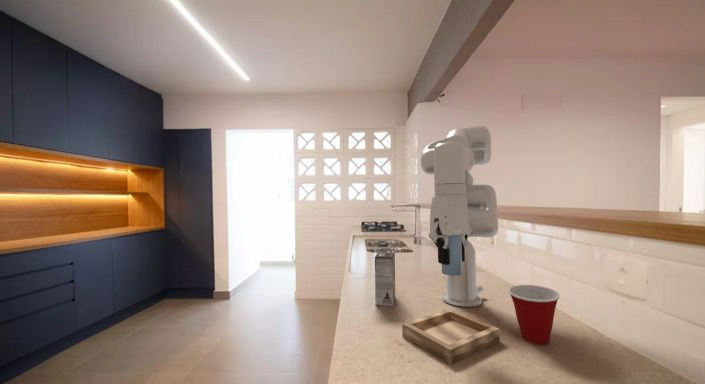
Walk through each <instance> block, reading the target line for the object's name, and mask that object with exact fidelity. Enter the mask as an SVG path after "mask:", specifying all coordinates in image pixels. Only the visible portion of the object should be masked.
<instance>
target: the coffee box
mask: <svg viewBox="0 0 705 384" xmlns="http://www.w3.org/2000/svg"><path fill="white" fill-rule="evenodd" d="M395 255H396V254H395V252H386V251H385V252H383V251H381V252H380V251H378V252H377V253H376V254H375V256H374V287H375V288H374V298H375V303H374V304H375V305H376V306H387V307H388V306H389V307H394V306H395V302H396V266H395V265H396V260H395V259H396V258H395V257H396V256H395Z"/></svg>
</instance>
